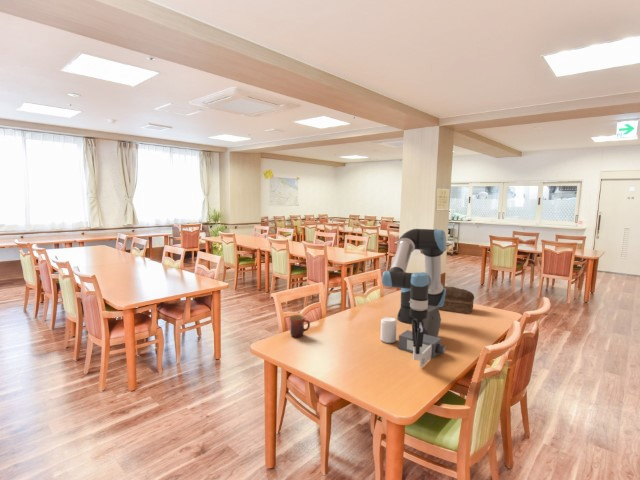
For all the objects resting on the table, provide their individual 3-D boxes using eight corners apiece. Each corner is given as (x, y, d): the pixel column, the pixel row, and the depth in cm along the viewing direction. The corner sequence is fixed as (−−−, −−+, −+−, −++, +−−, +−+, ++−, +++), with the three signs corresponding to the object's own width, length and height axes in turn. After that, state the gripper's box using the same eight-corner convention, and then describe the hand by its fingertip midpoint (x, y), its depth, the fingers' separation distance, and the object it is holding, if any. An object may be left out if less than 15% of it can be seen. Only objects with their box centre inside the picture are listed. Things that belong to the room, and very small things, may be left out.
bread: (428, 302, 265) (428, 281, 264) (474, 309, 250) (475, 287, 248) (423, 307, 253) (424, 285, 251) (472, 315, 237) (473, 291, 236)
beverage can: (386, 344, 186) (387, 322, 185) (377, 339, 193) (377, 317, 192) (398, 342, 190) (399, 320, 189) (389, 337, 197) (389, 315, 196)
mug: (286, 336, 196) (286, 318, 195) (294, 331, 204) (294, 314, 203) (305, 340, 191) (305, 321, 190) (312, 335, 199) (313, 317, 198)
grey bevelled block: (429, 322, 207) (422, 297, 196) (442, 325, 202) (436, 300, 191) (418, 345, 197) (410, 320, 186) (432, 349, 192) (425, 323, 181)
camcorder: (398, 348, 181) (398, 333, 180) (407, 342, 189) (407, 328, 188) (440, 360, 168) (440, 344, 167) (447, 353, 176) (448, 338, 175)
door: (423, 368, 159) (423, 354, 158) (419, 367, 160) (420, 353, 159) (433, 358, 170) (434, 344, 169) (429, 357, 171) (430, 344, 170)
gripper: (406, 303, 164) (404, 353, 167) (413, 312, 151) (411, 366, 154) (423, 304, 164) (420, 353, 166) (431, 313, 151) (429, 366, 154)
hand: (416, 359), depth 160 cm, fingers closed
